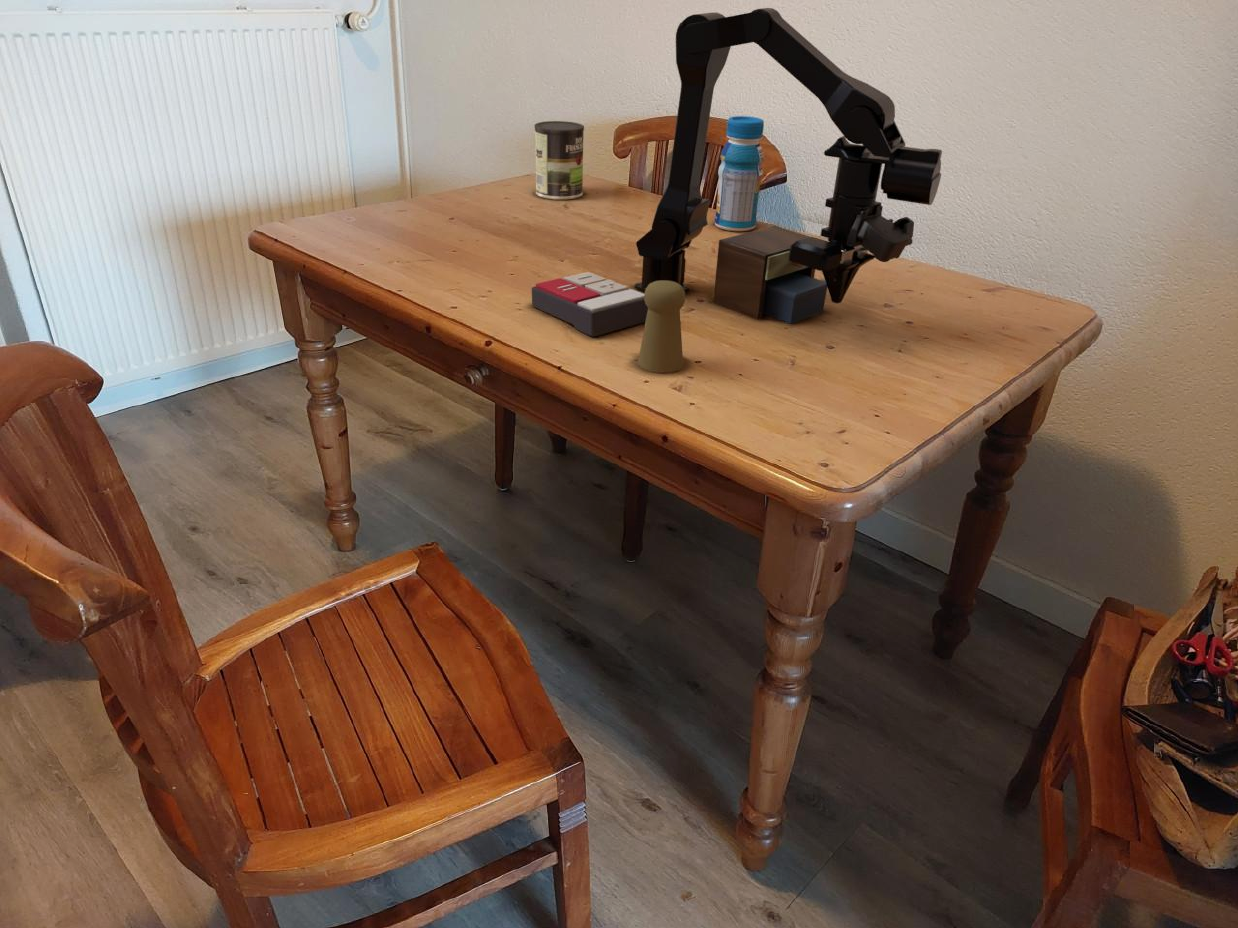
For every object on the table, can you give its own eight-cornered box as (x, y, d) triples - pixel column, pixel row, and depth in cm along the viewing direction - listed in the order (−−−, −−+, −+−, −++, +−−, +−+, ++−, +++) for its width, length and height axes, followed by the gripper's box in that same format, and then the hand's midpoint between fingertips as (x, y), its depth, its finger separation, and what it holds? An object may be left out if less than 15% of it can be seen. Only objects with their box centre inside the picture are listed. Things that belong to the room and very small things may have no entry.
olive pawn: (635, 354, 118) (639, 275, 112) (679, 353, 118) (685, 275, 113) (640, 373, 113) (644, 291, 107) (686, 373, 113) (693, 292, 107)
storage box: (790, 324, 129) (795, 294, 126) (728, 300, 136) (731, 272, 134) (824, 312, 134) (829, 283, 131) (762, 289, 141) (766, 261, 139)
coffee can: (592, 193, 190) (593, 125, 183) (565, 202, 183) (566, 132, 175) (553, 185, 194) (552, 118, 187) (525, 194, 187) (524, 125, 179)
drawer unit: (757, 319, 130) (765, 255, 125) (712, 302, 136) (718, 240, 131) (810, 300, 138) (820, 239, 133) (766, 285, 143) (774, 225, 138)
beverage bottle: (729, 234, 167) (741, 124, 157) (705, 223, 173) (714, 116, 163) (765, 229, 171) (778, 122, 160) (739, 218, 177) (750, 114, 166)
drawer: (773, 282, 126) (776, 259, 124) (722, 264, 132) (724, 242, 130) (825, 266, 133) (829, 244, 131) (775, 249, 139) (777, 228, 138)
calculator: (588, 268, 136) (652, 292, 126) (588, 295, 138) (651, 320, 128) (529, 282, 130) (592, 308, 119) (531, 310, 132) (592, 337, 122)
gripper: (866, 217, 108) (844, 335, 116) (944, 196, 119) (920, 304, 127) (794, 198, 115) (779, 310, 123) (874, 179, 126) (855, 283, 134)
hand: (836, 302), depth 126 cm, fingers closed
